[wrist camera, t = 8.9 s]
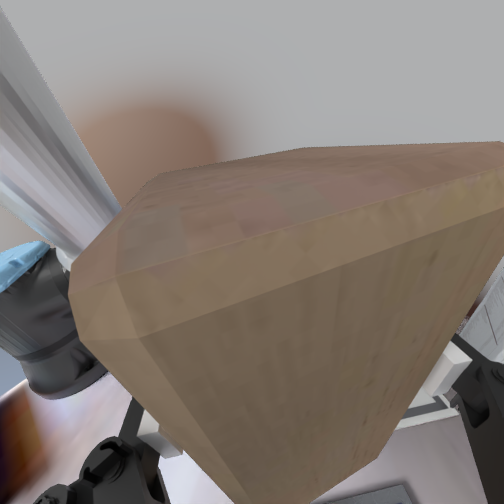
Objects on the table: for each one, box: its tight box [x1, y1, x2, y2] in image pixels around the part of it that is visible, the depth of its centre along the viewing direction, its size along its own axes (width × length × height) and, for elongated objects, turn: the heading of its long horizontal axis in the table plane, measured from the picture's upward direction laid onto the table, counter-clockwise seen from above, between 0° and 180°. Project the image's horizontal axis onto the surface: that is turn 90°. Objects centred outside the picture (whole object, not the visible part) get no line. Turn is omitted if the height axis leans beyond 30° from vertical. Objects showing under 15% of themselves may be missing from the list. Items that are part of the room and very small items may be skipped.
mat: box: [395, 387, 459, 430], centre depth 30 cm, size 16×16×1 cm
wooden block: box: [68, 141, 504, 504], centre depth 12 cm, size 10×10×20 cm
